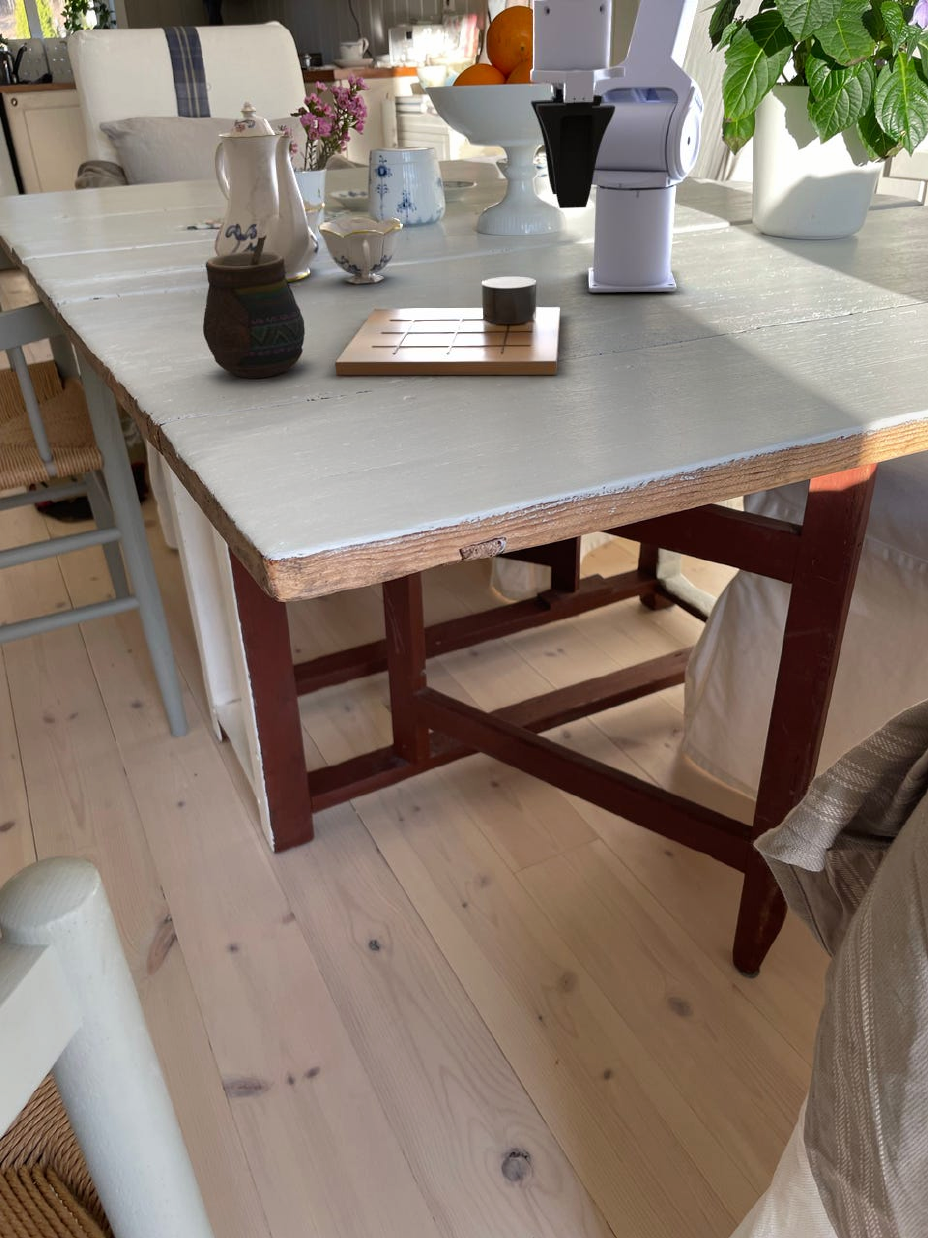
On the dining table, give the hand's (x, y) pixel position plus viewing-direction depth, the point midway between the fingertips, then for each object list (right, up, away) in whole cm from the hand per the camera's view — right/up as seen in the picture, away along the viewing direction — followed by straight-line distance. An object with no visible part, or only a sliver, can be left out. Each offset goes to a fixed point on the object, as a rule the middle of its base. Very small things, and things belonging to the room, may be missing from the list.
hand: (568, 199), depth 78 cm
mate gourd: (-23, -15, -5) cm, 28 cm away
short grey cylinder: (-5, -9, +1) cm, 10 cm away
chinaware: (-26, +3, +26) cm, 37 cm away
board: (-9, -12, -1) cm, 15 cm away
